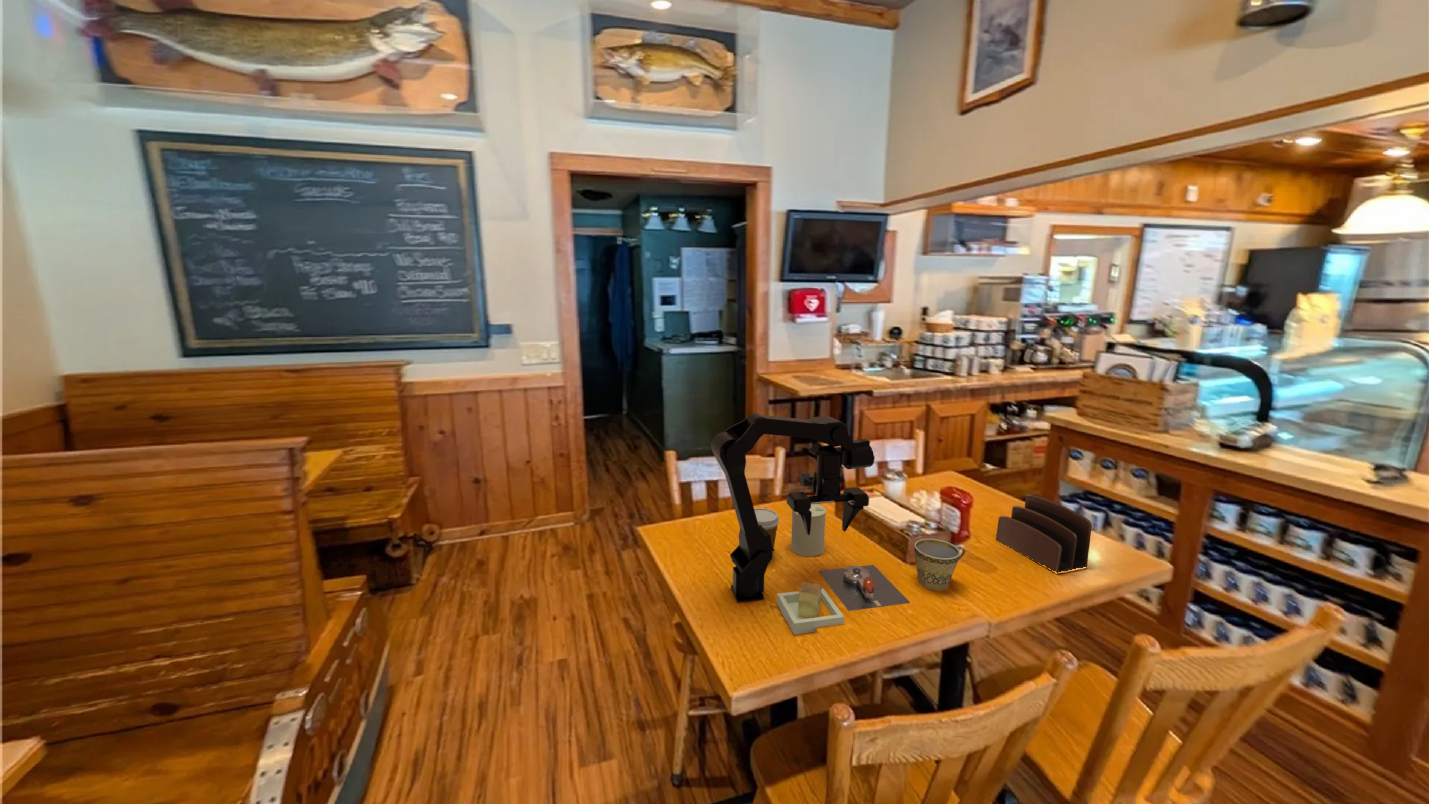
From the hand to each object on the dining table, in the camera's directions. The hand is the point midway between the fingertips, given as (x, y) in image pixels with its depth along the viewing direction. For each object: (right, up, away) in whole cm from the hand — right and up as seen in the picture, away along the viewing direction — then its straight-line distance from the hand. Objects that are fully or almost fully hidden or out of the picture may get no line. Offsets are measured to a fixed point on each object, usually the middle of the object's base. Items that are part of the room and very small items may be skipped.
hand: (826, 532), depth 127 cm
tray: (-6, -15, -12) cm, 20 cm away
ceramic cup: (+27, -13, 0) cm, 30 cm away
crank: (+8, -12, -2) cm, 14 cm away
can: (-1, -9, +18) cm, 21 cm away
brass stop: (-6, -15, -12) cm, 20 cm away
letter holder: (+61, -10, +16) cm, 63 cm away
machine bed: (+8, -13, -2) cm, 16 cm away
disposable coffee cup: (-15, -10, +14) cm, 22 cm away
